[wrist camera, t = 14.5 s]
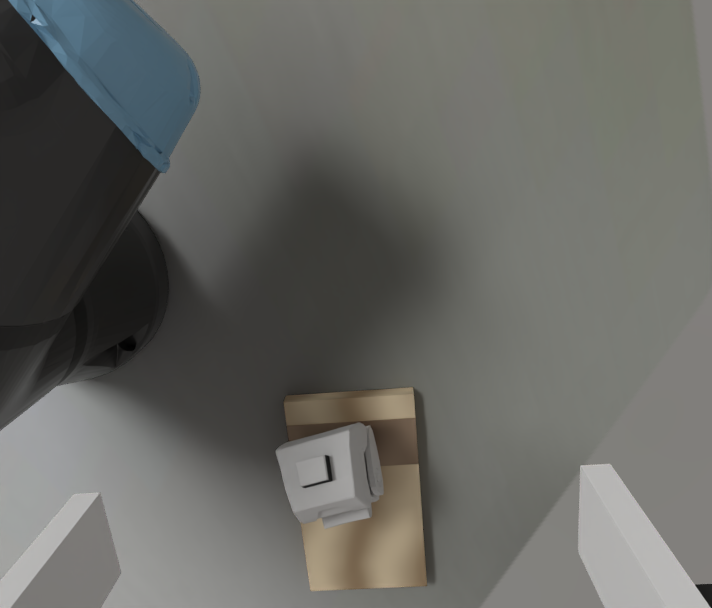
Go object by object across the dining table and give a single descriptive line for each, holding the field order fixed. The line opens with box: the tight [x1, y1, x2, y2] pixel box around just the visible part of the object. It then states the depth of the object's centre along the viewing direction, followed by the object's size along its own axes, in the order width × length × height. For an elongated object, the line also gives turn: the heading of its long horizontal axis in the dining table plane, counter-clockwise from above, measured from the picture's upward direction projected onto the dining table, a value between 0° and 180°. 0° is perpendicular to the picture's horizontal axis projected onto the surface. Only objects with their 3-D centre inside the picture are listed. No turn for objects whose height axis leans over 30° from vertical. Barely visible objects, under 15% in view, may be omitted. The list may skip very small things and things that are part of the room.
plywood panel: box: [283, 387, 427, 591], centre depth 45 cm, size 10×18×1 cm, turn 5°
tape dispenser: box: [275, 423, 384, 529], centre depth 39 cm, size 6×7×10 cm
